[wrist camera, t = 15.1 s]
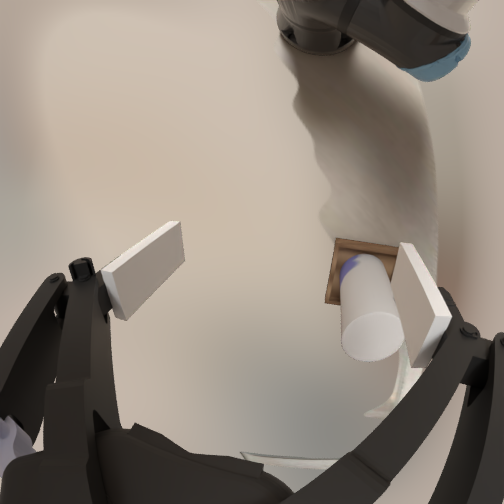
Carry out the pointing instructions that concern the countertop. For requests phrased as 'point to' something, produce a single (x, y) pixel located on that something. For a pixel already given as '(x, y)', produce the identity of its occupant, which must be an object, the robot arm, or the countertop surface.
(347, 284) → the container
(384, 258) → the stand
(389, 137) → the countertop surface
